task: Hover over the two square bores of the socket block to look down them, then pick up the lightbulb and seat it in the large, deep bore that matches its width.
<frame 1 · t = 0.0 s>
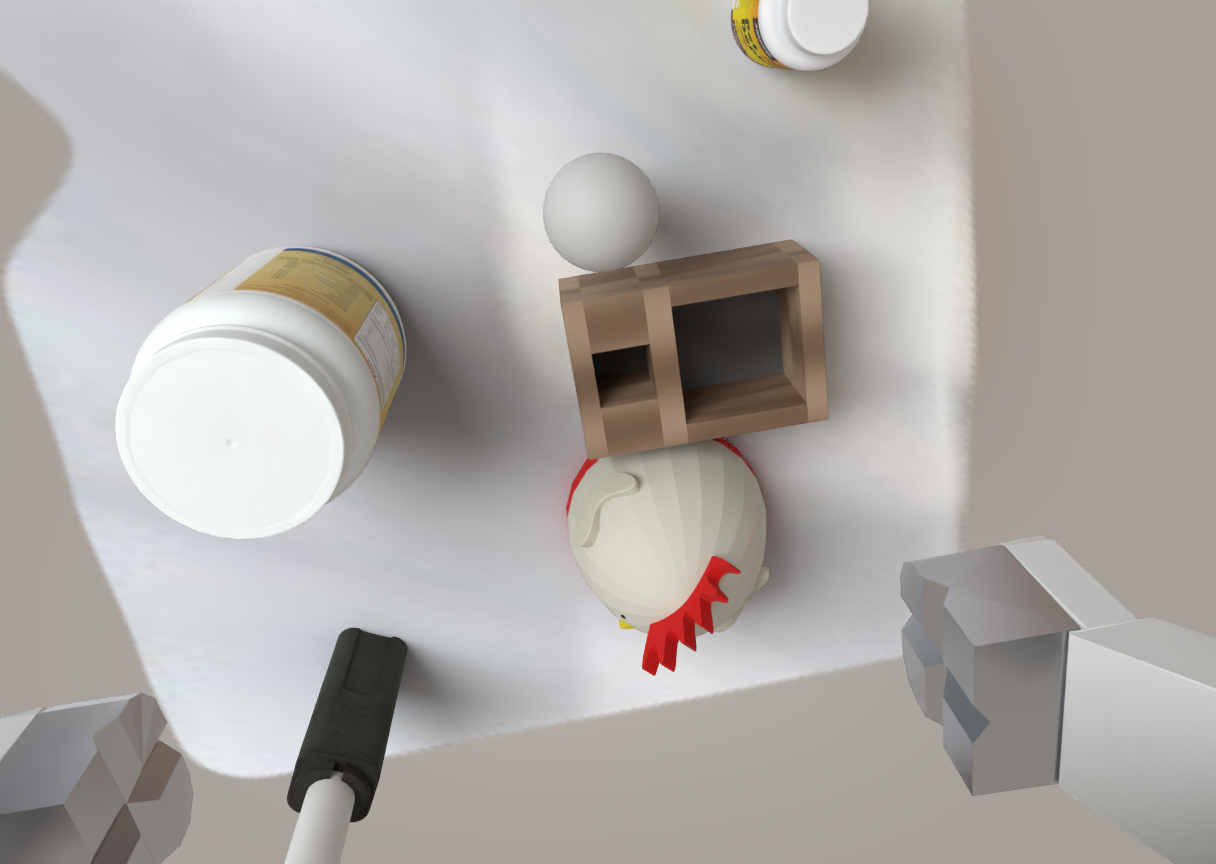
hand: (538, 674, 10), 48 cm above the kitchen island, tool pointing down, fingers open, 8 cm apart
socket block: (684, 334, 59), on the kitchen island
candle: (368, 657, 67), on the kitchen island
kitchen timer: (663, 510, 64), on the kitchen island
supplement tub: (314, 335, 57), on the kitchen island
supplement bottle: (775, 16, 52), on the kitchen island
lightbulb: (592, 190, 55), on the kitchen island
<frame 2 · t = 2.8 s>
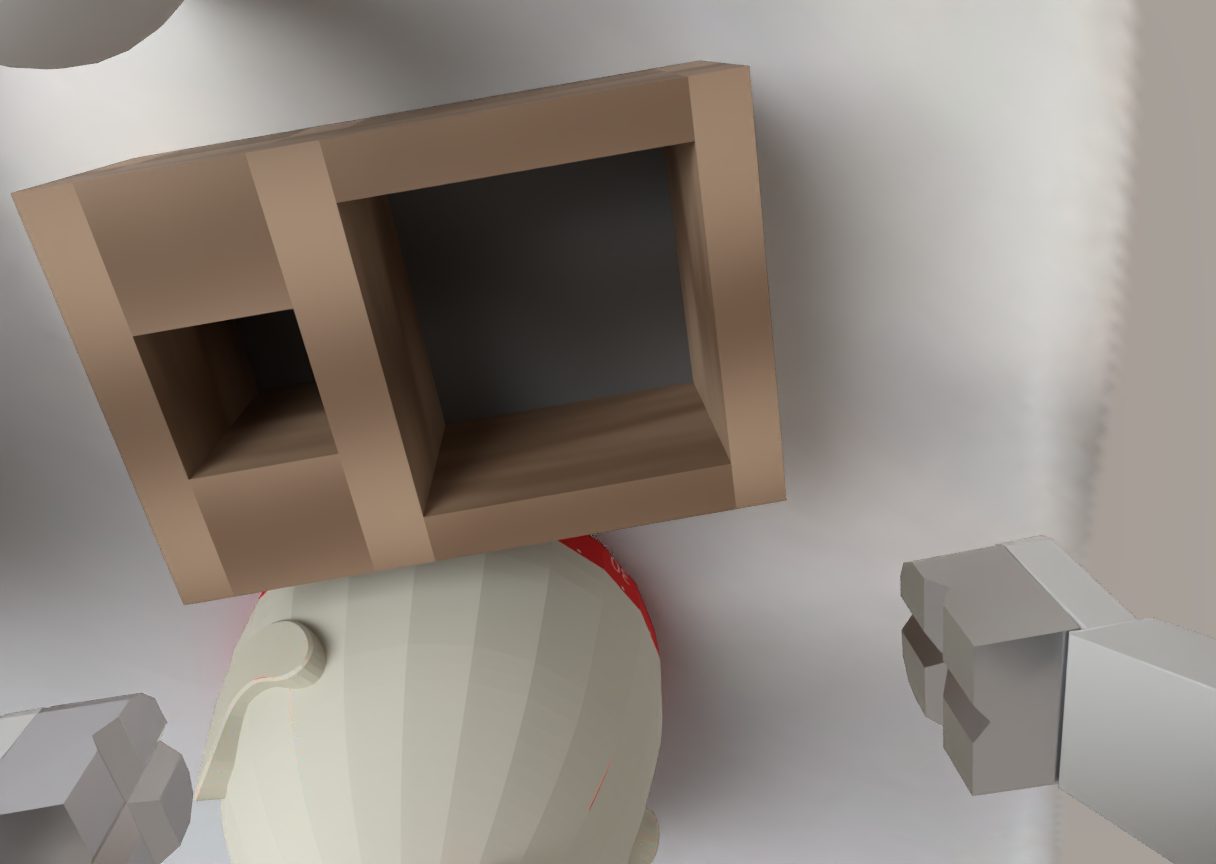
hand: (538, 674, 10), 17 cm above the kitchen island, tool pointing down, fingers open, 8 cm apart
socket block: (459, 293, 25), on the kitchen island
kitchen timer: (456, 665, 31), on the kitchen island
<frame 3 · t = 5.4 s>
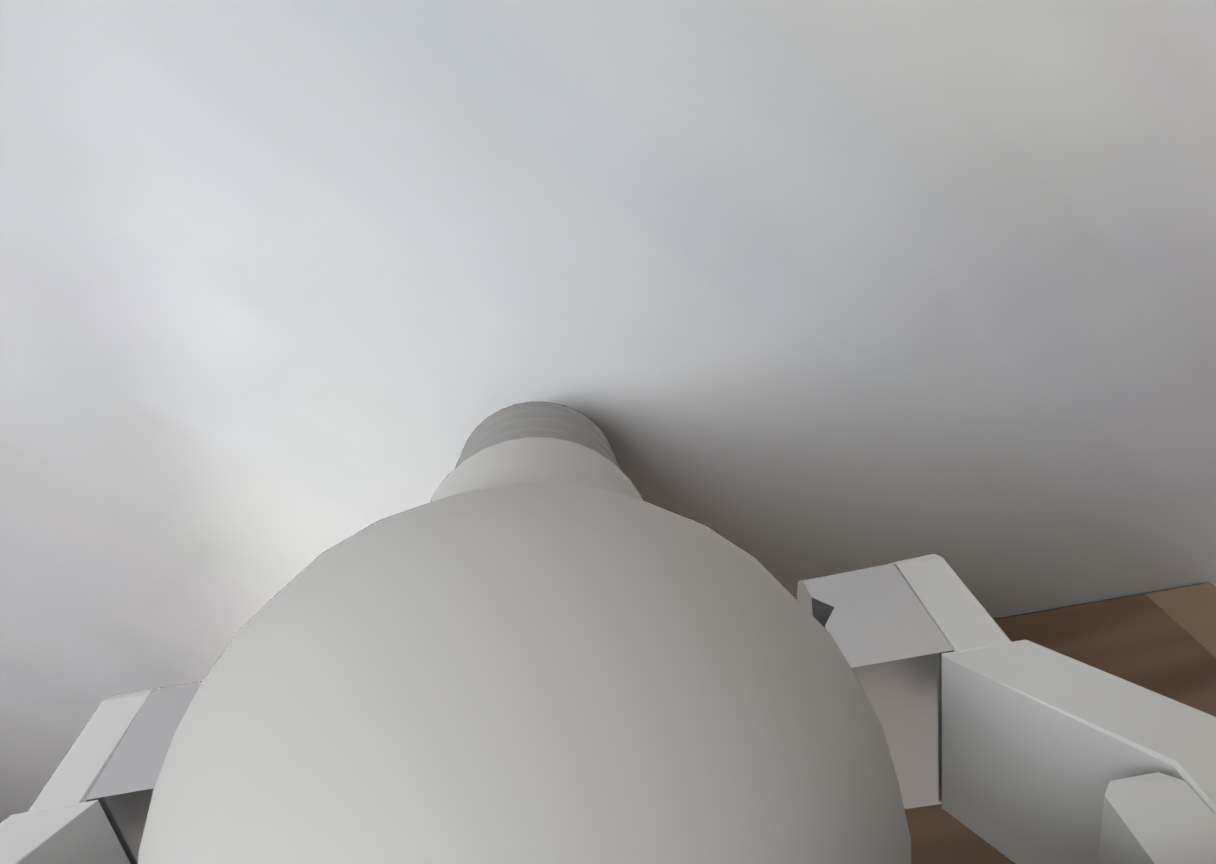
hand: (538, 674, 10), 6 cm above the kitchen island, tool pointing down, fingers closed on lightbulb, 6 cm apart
socket block: (833, 839, 19), on the kitchen island
lightbulb: (537, 448, 15), on the kitchen island, touching gripper
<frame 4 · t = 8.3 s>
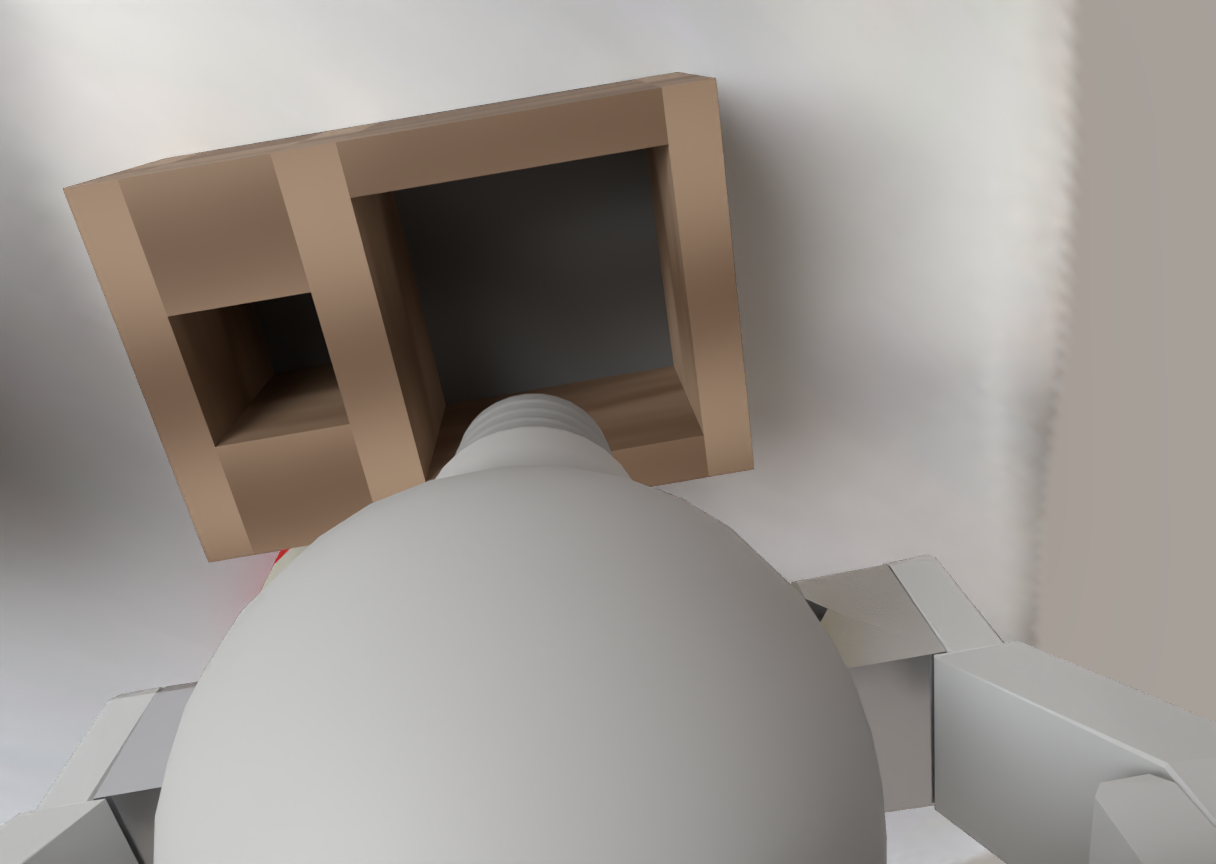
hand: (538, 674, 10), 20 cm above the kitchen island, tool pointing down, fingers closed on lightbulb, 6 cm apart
socket block: (459, 283, 28), on the kitchen island
kitchen timer: (454, 632, 33), on the kitchen island
lightbulb: (534, 440, 16), point 13 cm above the kitchen island, touching gripper
when the fingers open (7 cm above the kitchen island, at t = 11.0 s): lightbulb moves 2 cm, resting on socket block.
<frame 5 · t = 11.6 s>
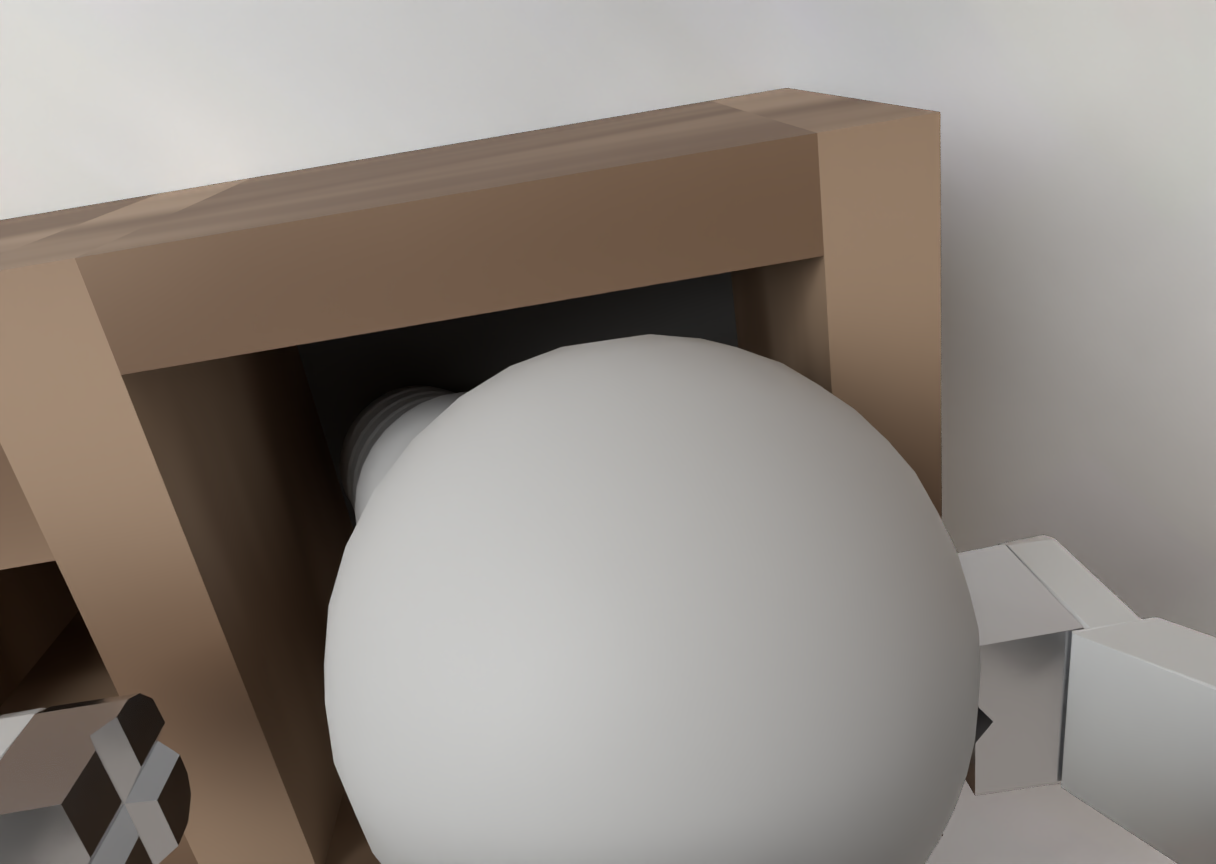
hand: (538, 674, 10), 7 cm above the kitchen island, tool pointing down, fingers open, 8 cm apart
socket block: (403, 444, 16), on the kitchen island
lightbulb: (397, 444, 16), point 1 cm above the kitchen island, touching gripper, socket block
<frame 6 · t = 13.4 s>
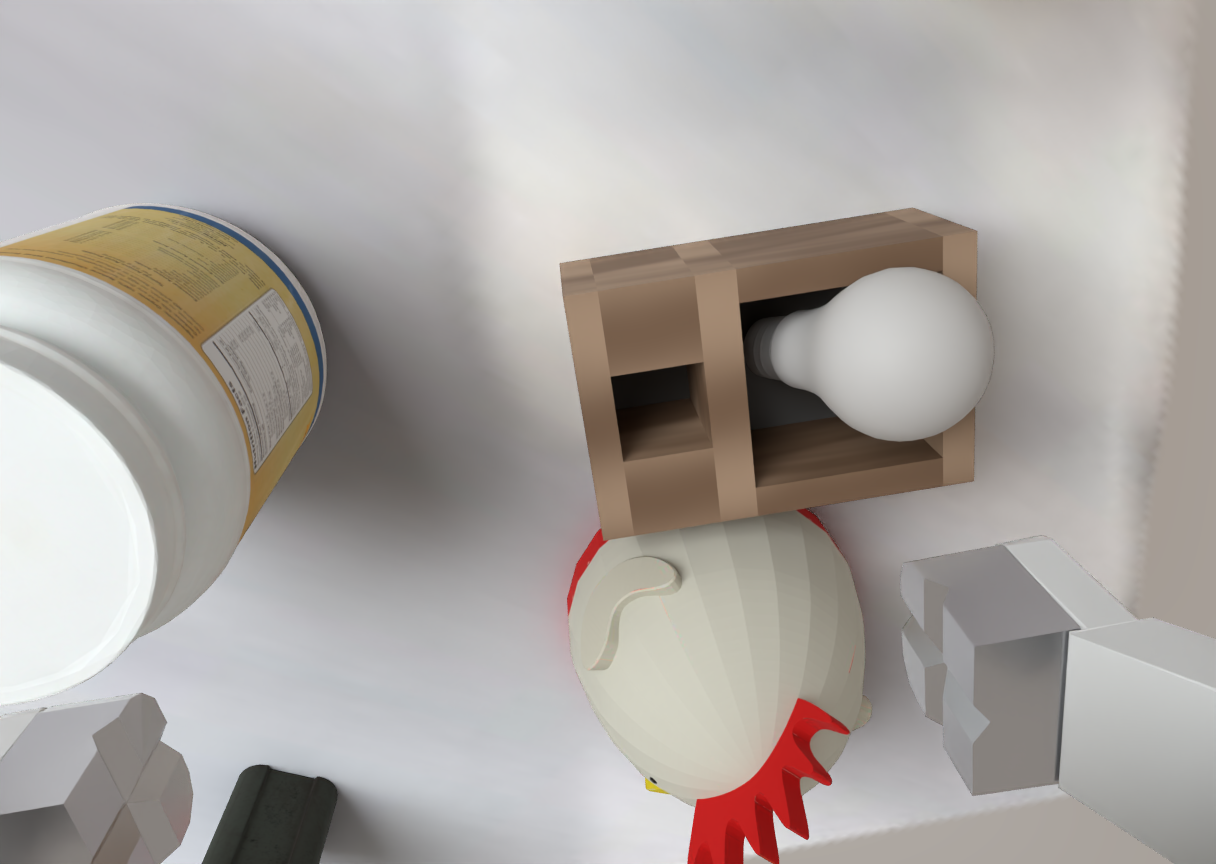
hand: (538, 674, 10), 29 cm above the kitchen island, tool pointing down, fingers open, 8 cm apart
socket block: (746, 348, 39), on the kitchen island
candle: (283, 804, 47), on the kitchen island
kitchen timer: (706, 602, 44), on the kitchen island
supplement tub: (189, 344, 38), on the kitchen island
lightbulb: (751, 346, 39), point 1 cm above the kitchen island, touching socket block
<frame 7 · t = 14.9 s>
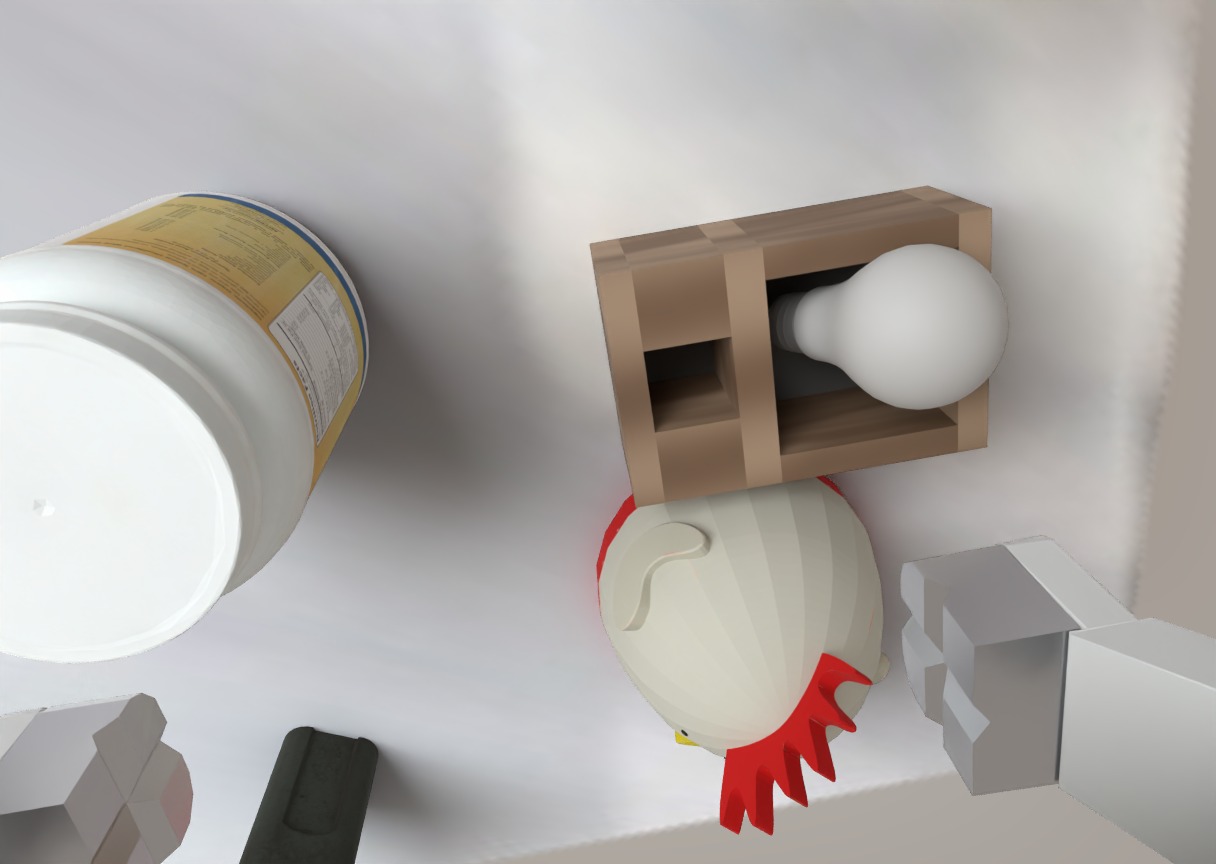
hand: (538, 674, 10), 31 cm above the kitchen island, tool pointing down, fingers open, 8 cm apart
socket block: (768, 323, 41), on the kitchen island
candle: (327, 764, 50), on the kitchen island
kitchen timer: (729, 567, 47), on the kitchen island
supplement tub: (236, 326, 40), on the kitchen island
lightbulb: (773, 321, 40), point 1 cm above the kitchen island, touching socket block
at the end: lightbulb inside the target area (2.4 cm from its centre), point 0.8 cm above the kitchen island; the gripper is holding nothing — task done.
